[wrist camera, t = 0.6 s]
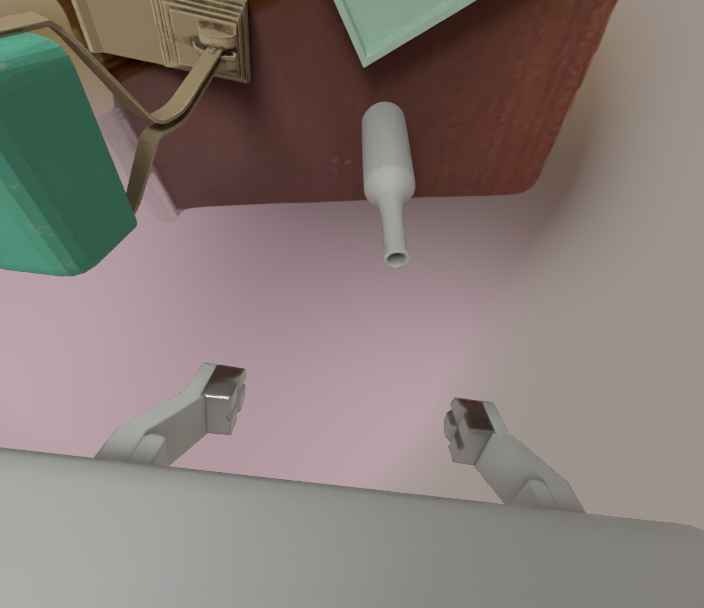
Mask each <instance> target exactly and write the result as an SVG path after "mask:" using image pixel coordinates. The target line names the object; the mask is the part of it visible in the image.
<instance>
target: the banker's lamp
mask: <svg viewBox="0 0 704 608" xmlns="http://www.w3.org/2000/svg"><path fill="white" fill-rule="evenodd" d="M71 1H72V4H73V6H74V9H75V12H76V15H77V17H78V20H79V23H80V26H81V29H82V31H83V34H84V37H85V40H86V42H87V45H88V48H89V51H90V52H93V53H101V52H104V53H109V54H114V55H119V56H123V57H128V58H133V59H138V60H143V61H148V62H153V63H157V64H162V65H165V66H166V67H171V68H175V69H180V70H185V71H190V73H189V74H188V76H187V77H186V78H185V80H184V81H183V83H182V84H181V86H180V87H179V88H178V90H177V91H176V93H175V94H174V95H173V97H172V98H171V100H170V101H169V102H168V103H167V104H166V105H164V106H163V107H162V108H160V109H159V110H157V111H155V112H153V113H151V114H149V113H148V112H147V111H146V110H145V109H144V108H143V107H142V106H141V105H140V104H139V103H138V102H137V101H136V100H135V99H134V98H133V97H132V96H131V95H130V94H129V92H128V91H127V90H126V89H125V88H124V87H123V86H122V85H121V84H120V83H119V82H118V81H117V80H116V79H115V78H114V77H113V76H112V75H111V74H110V73H109V72H108V71H107V70H106V69H105V68H104V67H103V66H102V65H101V64H100V63H99V62H98V61H97V60H96V58H95V57H94V56H93V55H92V54H91V53H90V52H89V51H88V50H87V49H86V48H85V47H84V46H83V45H82V44H81V43H80V42H79V41H78V40H77V39H76V38H74V37H73V36H72V35H71V34H70V33H69V32H67V31H66V30H64V29H63V28H62V27H61V26H58V25H57V24H55V23H54V22H52V21H50V20H49V19H47V18H45V17H43V16H41V15H39V14H37V13H36V12H34V11H30V12H25V13H20V14H15V15H10V16H5V17H0V268H1V269H6V270H12V271H21V272H30V273H37V274H46V275H54V276H75V275H79V274H81V273H85V272H87V271H88V270H90V269H91V268H93V267H94V266H96V265H97V264H98V263H99V262H100V261H101V260H102V259H103V258H104V257H105V256H106V255H107V254H108V253H109V252H111V251H112V250H113V249H114V247H116V246H117V245H118V244H119V243H120V242H121V241H122V240H123V239H124V238H125V237H126V236H127V235H128V234H129V233H130V232H131V231H132V230H133V229H134V228H135V227H136V225H137V221H136V218H135V213H136V211H137V209H138V207H139V205H140V203H141V200H142V196H143V193H144V190H145V187H146V183H147V180H148V177H149V174H150V170H151V167H152V164H153V161H154V157H155V154H156V151H157V148H158V145H159V143H160V141H161V139H162V138H163V137H164V136H165V135H166V134H168V133H170V132H172V131H173V130H175V129H177V128H178V127H180V126H181V125H182V124H184V123H185V122H186V121H187V119H188V118H189V117H190V115H191V114H192V112H193V110H194V109H195V107H196V105H197V104H198V102H199V100H200V99H201V97H202V95H203V94H204V92H205V90H206V89H207V87H208V85H209V84H210V82H211V80H212V79H213V77H219V78H224V79H229V80H234V81H239V82H243V83H248V84H249V82H250V79H251V74H250V51H249V28H248V5H247V0H71ZM44 27H49V28H51V29H52V30H53V31H54V32H55V33H56V34H58V35H59V36H60V37H61V38H62V39H63V40H64V41H65V42H66V43H67V45H68V46H69V47H70V48H71V49H72V50H73V51H74V52H75V53H76V54H77V55H78V56H79V57H80V59H81V60H82V61H83V62H84V63H85V64H86V65H87V66H88V67H89V68H90V69H91V70H92V71H93V72H94V74H95V75H97V77H98V78H99V79H100V80H101V81H102V82H103V83H104V84H105V85H106V86H107V88H108V89H109V90H110V91H111V92H112V93H113V94H114V95H115V96H116V97H117V98H118V99H119V100H120V101H121V103H122V104H123V105H124V106H125V107H126V108H127V109H128V110H129V111H130V112H131V113H133V114H134V115H135V116H137V117H140V118H143V119H146V120H149V121H152V122H155V123H152V124H151V125H149V126H148V127H146V128H145V130H144V131H143V132H142V134H141V136H140V138H139V141H138V145H137V149H136V154H135V158H134V162H133V166H132V171H131V175H130V179H129V184H128V188H127V192H126V193H125V190H124V188H123V185H122V183H121V180H120V178H119V175H118V173H117V171H116V168H115V165H114V163H113V161H112V158H111V156H110V153H109V151H108V148H107V146H106V143H105V141H104V138H103V136H102V133H101V131H100V128H99V126H98V123H97V121H96V118H95V116H94V114H93V111H92V109H91V106H90V104H89V101H88V99H87V96H86V94H85V91H84V89H83V86H82V84H81V81H80V79H79V76H78V74H77V71H76V69H75V67H74V65H73V63H72V61H71V59H70V57H69V55H68V54H67V53H66V52H65V51H64V49H63V48H62V47H61V46H60V45H58V44H57V43H55V42H54V41H52V40H51V39H48V38H45V37H42V36H39V35H35V34H30V33H26V32H28V31H32V30H36V29H41V28H44Z"/></svg>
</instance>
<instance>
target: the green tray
mask: <svg viewBox="0 0 704 608" xmlns="http://www.w3.org/2000/svg"><path fill="white" fill-rule="evenodd" d="M474 1H476V0H334V2H335V4H336V7H337V9H338V11H339V13H340V16H341V18H342V20H343V23H344V25H345V27H346V29H347V32H348V34H349V36H350V38H351V41H352V43H353V45H354V47H355V50H356V52H357V54H358V57H359V59H360V61H361V63H362V66H363V68H365V67H366V66H368V65H370V64H371V63H373V62H375V61H376V60H378V59H380V58H381V57H383V56H385V55H386V54H388V53H390V52H391V51H393V50H395V49H396V48H398V47H400V46H401V45H403V44H405V43H406V42H408V41H410V40H411V39H413V38H414V37H416V36H418V35H419V34H421V33H423V32H424V31H426V30H428V29H429V28H431V27H433V26H434V25H436V24H438V23H439V22H441V21H443V20H444V19H446V18H448V17H449V16H451V15H453V14H454V13H456V12H458V11H459V10H461V9H463V8H464V7H466V6H468V5H469V4H471V3H473V2H474Z"/></svg>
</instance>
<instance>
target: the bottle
mask: <svg viewBox="0 0 704 608" xmlns="http://www.w3.org/2000/svg"><path fill="white" fill-rule="evenodd" d="M362 154H363V180H364V192H365V196H366V198H367V200H368V201H369V202H370V203H371V204H372V205H373V206H375V207H376V208H378V209H380V214H381V220H382V229H383V241H384V254H385V255H384V257H383V261H384V263H385V265H387V266H388V267H391V268H401V267H403V266H405V265H407V263H408V262H409V260H410V255H409V253H408V252H407V246H406V237H405V228H404V212H403V206H404V205H405V204H406V203H408V201H409V200H410V199H411V197H412V196H413V194H414V191H415V177H414V171H413V164H412V158H411V152H410V145H409V139H408V133H407V127H406V122H405V116H404V114H403V111H402V110H401V109H400V108H399V107H398V106H397V105H395V104H394V103H391V102H379V103H376V104H374V105H372V106H371V107H370V108H369V109H368V110H367V111H366V113H365V114H364V116H363V119H362Z"/></svg>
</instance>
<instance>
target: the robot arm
mask: <svg viewBox="0 0 704 608" xmlns="http://www.w3.org/2000/svg"><path fill="white" fill-rule="evenodd" d="M245 377H246V370H245V369H243V368H236V367H231V366H224V365H216V364H210V363H204V364H203V365H201V367H200V369H199V370H198V372H197V374H196V375H195V377H194V378H193V380H192V382H191V383H190V385H189V387H188V389H187V390H186V392H185V393H179V394H177V395H175V396H174V397H172V398H170V399H168V400H166V401H165V402H163V403H161V404H159V405H157V406H156V407H154V408H152V409H150V410H148V411H147V412H145V413H143V414H141V415H139V416H138V417H136V418H134V419H132V420H130V421H128V422H127V423H125V424H123V425H121V426H120V427H118V428H116V429H115V431H114V432H113V433H112V434H111V436H110V437H109V438H108V440H107V441H106V442H105V444H104V445H103V446H102V448H101V449H100V450H99V452H98V453H97V454H96V456H95V457H94V458H88V457H79V456H70V455H61V454H53V453H44V452H34V451H26V450H17V449H8V448H0V608H704V531H703V530H701V529H699V528H697V527H693V526H689V525H684V524H677V523H666V522H657V521H648V520H639V519H631V518H622V517H612V516H603V515H595V514H586V512H585V511H584V509H583V507H582V505H581V504H580V502H579V500H578V499H577V497H576V495H575V493H574V492H573V490H572V488H571V486H570V485H569V483H568V482H567V481H566V480H565V479H563V478H562V477H561V476H560V475H559V474H558V473H556V472H555V471H554V470H553V469H552V468H550V467H549V466H548V465H547V464H546V463H545V462H543V461H542V460H541V459H540V458H539V457H538V456H536V455H535V454H534V453H533V452H532V451H530V450H529V449H528V448H527V447H526V446H525V445H523V444H522V443H521V442H520V441H519V440H518V439H516V438H515V437H514V436H511V435H509V433H508V431H507V429H506V427H505V425H504V423H503V421H502V419H501V417H500V415H499V412H498V410H497V408H496V406H495V404H494V403H492V402H488V401H478V400H470V399H462V398H454V399H453V400H452V403H451V407H452V410H451V411H449V412H448V413H447V414H446V417H445V420H444V432H445V436H446V438H447V439H448V440H449V441H450V442H451V443H450V445H449V450H450V453H451V456H452V460H453V462H456V463H463V464H469V465H475V466H474V467H475V468H476V469H477V470H478V472H479V473H480V474H481V475H482V477H483V478H484V479H485V480H486V481H487V483H488V484H489V485H490V486H491V488H492V489H493V490H494V491H495V493H496V494H497V495H498V496H499V498H500V499H501V500H502V501H503V503H504V504H497V503H488V502H479V501H470V500H461V499H452V498H443V497H435V496H426V495H417V494H408V493H400V492H391V491H382V490H373V489H363V488H355V487H346V486H337V485H328V484H319V483H310V482H302V481H293V480H284V479H275V478H266V477H257V476H248V475H239V474H230V473H222V472H213V471H204V470H194V469H186V468H177V467H169V465H170V464H172V463H173V462H174V461H175V460H176V459H178V458H179V457H180V456H181V455H182V454H184V453H185V452H186V451H187V450H188V449H189V448H191V447H192V446H193V445H194V444H195V443H197V442H198V441H199V440H200V439H201V438H203V437H204V436H205V435H206V433H215V434H225V435H231V433H232V431H233V428H234V426H235V423H236V420H237V419H236V418H237V413H238V412H239V411H240V410H241V407H242V404H243V400H244V396H245V385H244V384H243V382H244V380H245Z"/></svg>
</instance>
